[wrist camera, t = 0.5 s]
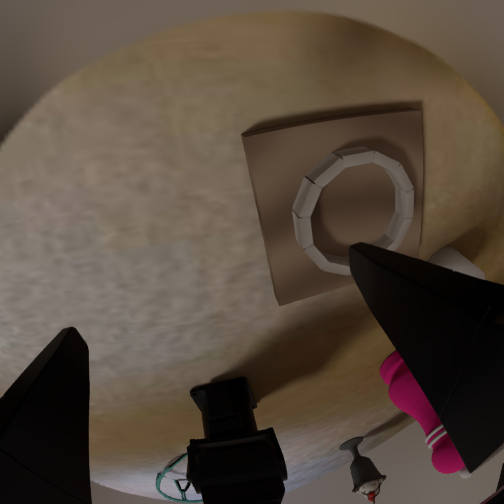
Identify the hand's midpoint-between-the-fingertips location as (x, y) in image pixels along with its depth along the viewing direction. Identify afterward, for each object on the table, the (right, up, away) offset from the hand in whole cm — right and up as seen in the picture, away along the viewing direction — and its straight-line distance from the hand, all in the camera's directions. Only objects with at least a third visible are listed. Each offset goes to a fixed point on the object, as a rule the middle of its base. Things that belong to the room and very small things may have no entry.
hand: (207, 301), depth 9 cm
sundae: (+20, -35, +41) cm, 57 cm away
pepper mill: (+21, -13, +29) cm, 38 cm away
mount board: (+9, +5, +15) cm, 18 cm away
